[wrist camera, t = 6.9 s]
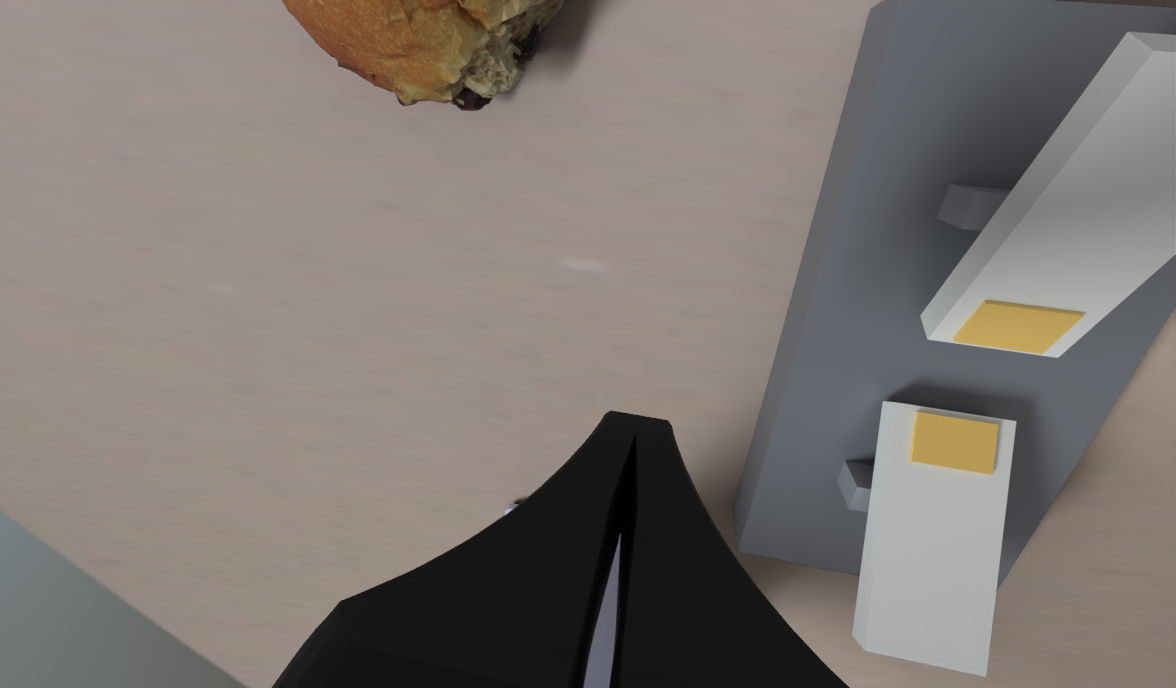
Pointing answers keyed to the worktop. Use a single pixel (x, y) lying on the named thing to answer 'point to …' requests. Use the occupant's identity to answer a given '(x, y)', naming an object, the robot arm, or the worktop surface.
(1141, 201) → the rocker
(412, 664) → the robot arm
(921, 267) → the switch unit
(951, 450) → the rocker
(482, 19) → the bread roll
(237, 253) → the worktop surface
